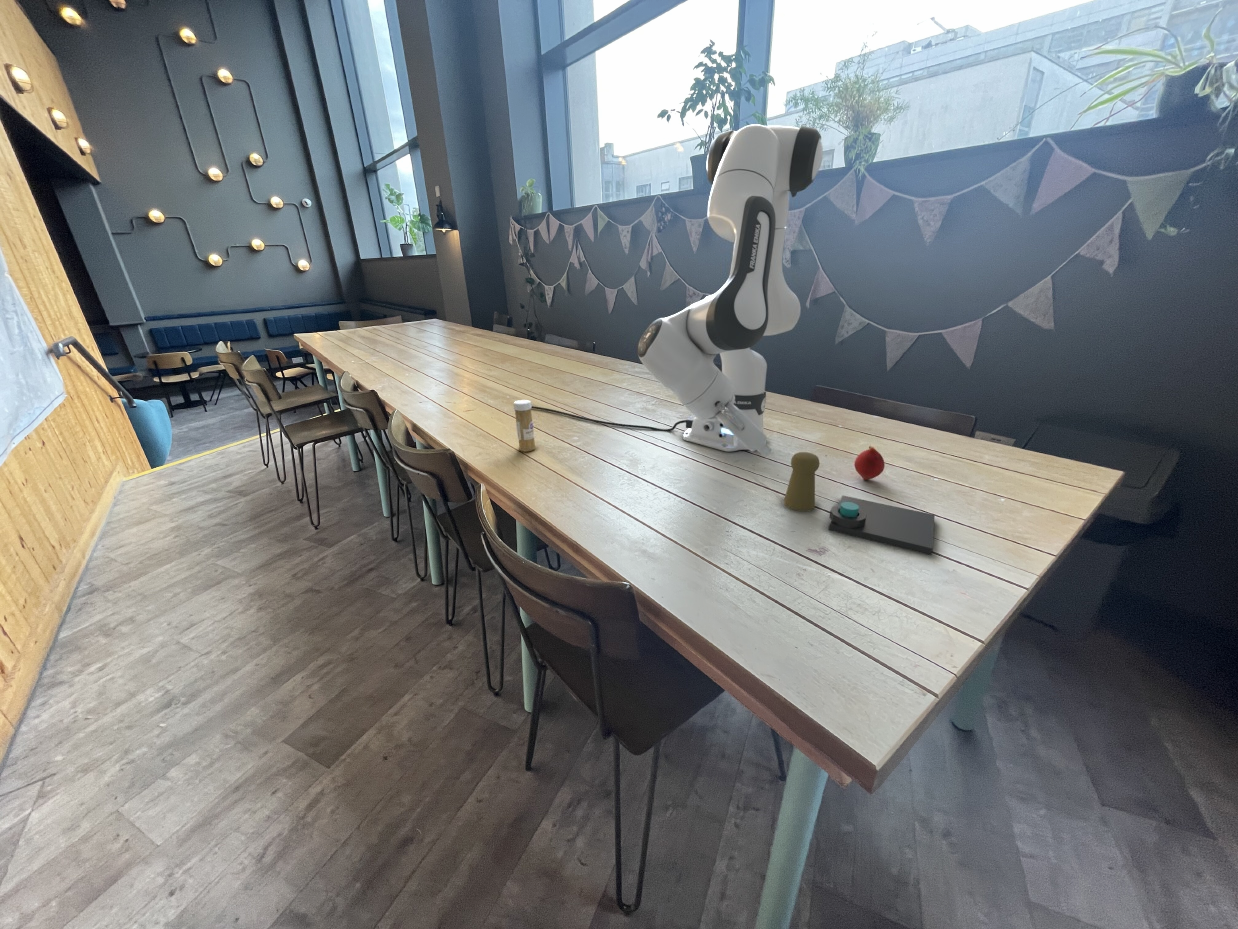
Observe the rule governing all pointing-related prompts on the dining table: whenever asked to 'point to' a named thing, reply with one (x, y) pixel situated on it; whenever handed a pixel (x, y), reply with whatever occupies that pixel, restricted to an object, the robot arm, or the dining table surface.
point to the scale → (886, 525)
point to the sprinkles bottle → (524, 425)
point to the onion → (869, 463)
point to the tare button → (849, 509)
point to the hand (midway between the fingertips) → (757, 443)
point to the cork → (802, 482)
